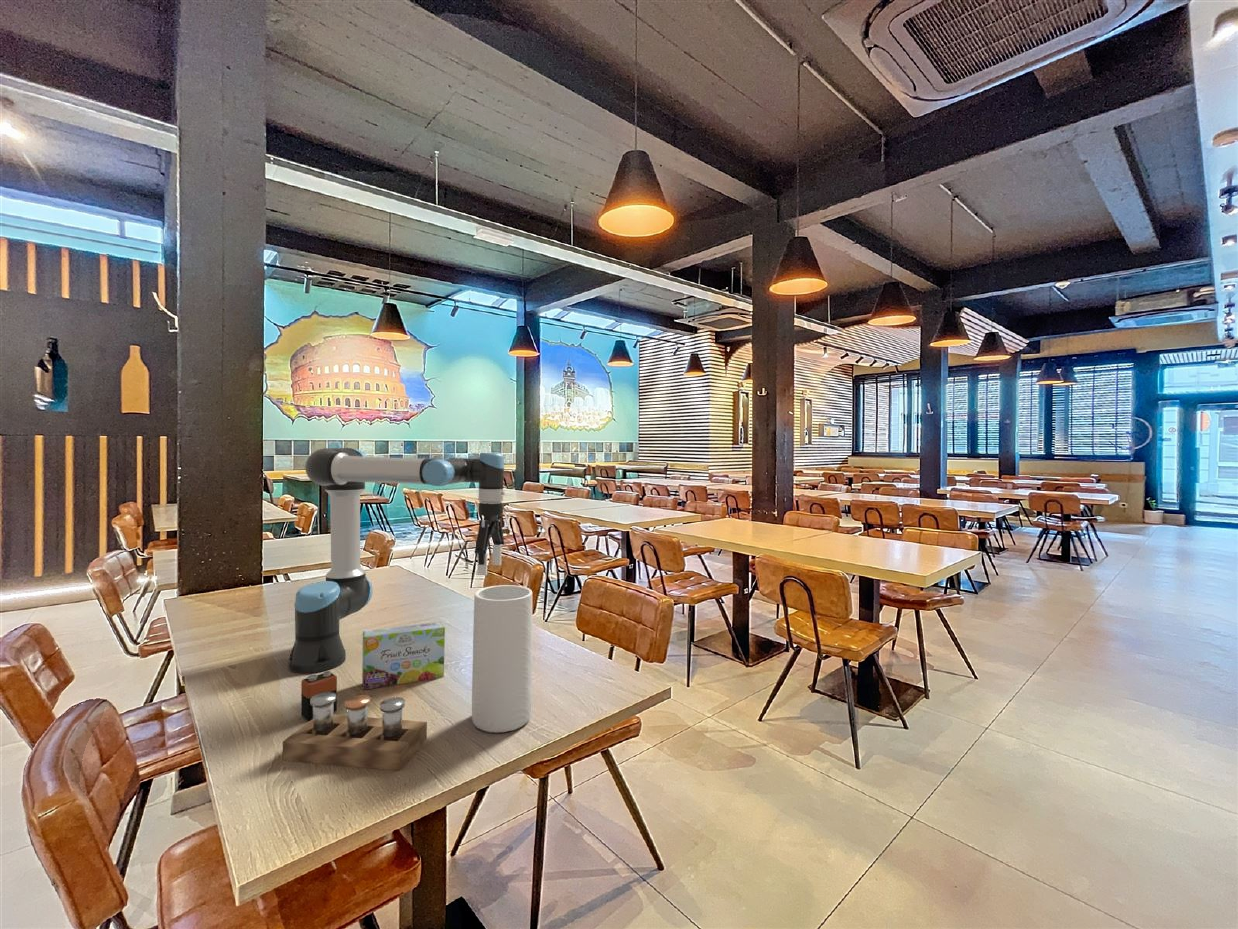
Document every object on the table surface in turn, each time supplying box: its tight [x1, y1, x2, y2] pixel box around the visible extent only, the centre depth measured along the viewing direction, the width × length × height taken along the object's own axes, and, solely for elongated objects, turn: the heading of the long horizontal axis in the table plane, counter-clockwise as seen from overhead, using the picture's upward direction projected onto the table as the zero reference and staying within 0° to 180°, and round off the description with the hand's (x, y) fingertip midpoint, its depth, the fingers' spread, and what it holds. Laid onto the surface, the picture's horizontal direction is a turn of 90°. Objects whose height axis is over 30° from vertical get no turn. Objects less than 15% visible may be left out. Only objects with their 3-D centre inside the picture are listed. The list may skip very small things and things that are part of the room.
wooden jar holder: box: [282, 714, 428, 772], centre depth 119 cm, size 26×12×4 cm, turn 84°
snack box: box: [361, 621, 446, 691], centre depth 153 cm, size 21×6×15 cm, turn 117°
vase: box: [471, 584, 533, 734], centre depth 133 cm, size 14×14×32 cm
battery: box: [300, 670, 338, 722], centre depth 134 cm, size 4×7×10 cm, turn 142°
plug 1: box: [310, 692, 336, 731], centre depth 120 cm, size 5×5×6 cm
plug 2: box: [379, 696, 406, 737], centre depth 118 cm, size 5×5×6 cm
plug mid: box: [344, 694, 371, 734], centre depth 119 cm, size 5×5×6 cm
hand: (489, 569), depth 170 cm, fingers open, 13 cm apart
